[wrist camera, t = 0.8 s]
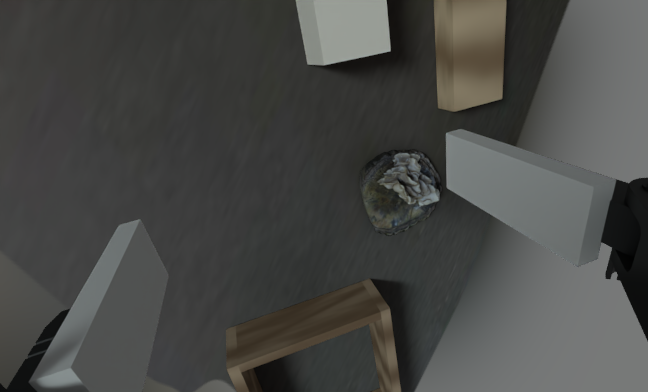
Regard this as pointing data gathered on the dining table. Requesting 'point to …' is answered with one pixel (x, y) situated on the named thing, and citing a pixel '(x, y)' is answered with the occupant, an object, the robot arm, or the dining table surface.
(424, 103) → the dining table surface
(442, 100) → the batten
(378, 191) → the crumpled grey lump
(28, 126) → the dining table surface
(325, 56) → the block
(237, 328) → the wooden serving tray
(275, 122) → the dining table surface
